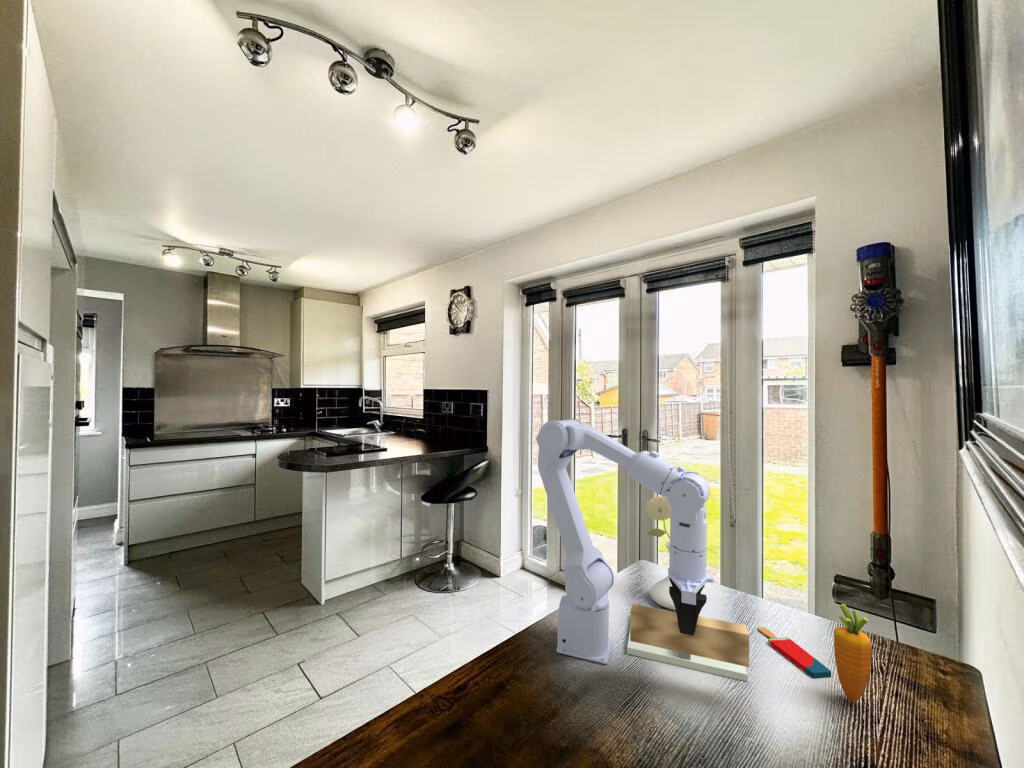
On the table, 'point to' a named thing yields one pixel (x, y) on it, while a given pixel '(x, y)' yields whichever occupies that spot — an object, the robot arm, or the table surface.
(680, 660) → the balance stand
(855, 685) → the carrot
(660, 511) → the flower in vase
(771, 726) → the table surface
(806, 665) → the popsicle
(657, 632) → the wooden block
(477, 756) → the table surface
